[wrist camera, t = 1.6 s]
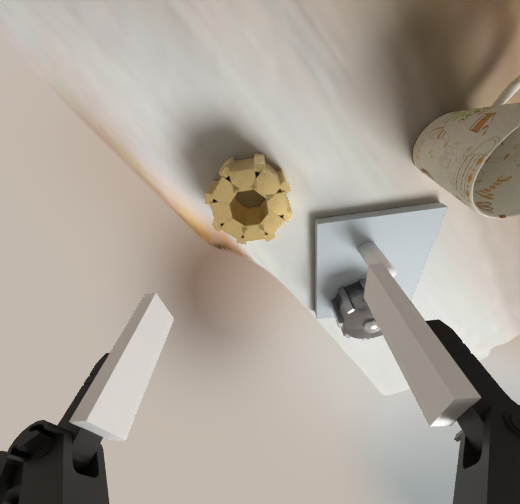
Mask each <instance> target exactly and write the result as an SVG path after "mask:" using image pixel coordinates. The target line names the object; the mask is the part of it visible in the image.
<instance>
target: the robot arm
mask: <svg viewBox="0 0 520 504" xmlns="http://www.w3.org/2000/svg"><path fill="white" fill-rule="evenodd" d="M364 299H365V301H366V303H367V305H368V307H369V308H370V310H371V312H372V314H373V316H374V318H375V320H376V322H377V324H378V326H379V328H380V330H381V332H382V334H383V336H384V338H385V340H386V342H387V344H388V346H389V348H390V350H391V351H392V353H393V355H394V357H395V359H396V361H397V363H398V365H399V367H400V369H401V371H402V373H403V375H404V377H405V379H406V381H407V383H408V385H409V387H410V389H411V390H412V392H413V394H414V396H415V398H416V400H417V402H418V404H419V406H420V408H421V410H422V412H423V414H424V416H425V418H426V420H427V422H428V423H429V425H430V426H448V425H449V426H450V425H452V424H453V423H454V422H455V421H456V420H457V422H458V423H459V425H460V426H461V428H462V430H461V431H460V432H459V433H458V434H457V435H456V437H455V439H454V440H456V441H457V442H458V441H460V450H459V458H458V465H457V474H456V482H455V490H454V499H453V504H520V405H518V404H516V403H515V402H514V401H513V400H511V399H510V398H509V396H508V395H507V394H506V393H505V392H504V391H503V390H502V389H501V388H500V387H499V385H498V384H497V383H496V381H495V380H494V379H493V378H492V377H491V375H490V374H489V373H488V372H487V371H486V369H485V368H484V367H483V366H482V364H481V363H480V362H479V361H478V360H477V358H476V357H475V356H474V355H473V354H471V352H470V350H469V349H468V347H467V346H466V345H465V344H463V343H462V340H461V339H460V338H459V337H458V335H457V334H456V333H455V332H454V331H453V329H451V328H450V327H449V326H447V325H446V324H445V323H443V322H442V321H440V320H430V321H425V320H424V319H423V317H422V316H421V315H420V313H419V312H418V310H417V309H416V308H415V306H414V305H413V304H412V302H411V301H410V300H409V298H408V297H407V295H406V294H405V293H404V291H403V290H402V289H401V287H400V286H399V285H398V283H397V282H396V280H395V279H394V278H393V276H392V275H391V274H390V272H389V271H388V270H387V268H386V267H385V265H384V264H383V263H378V264H370V265H368V272H367V278H366V285H365V291H364ZM173 320H174V318H173V317H172V316H171V314H170V313H169V311H168V310H167V308H166V307H165V305H164V304H163V303H162V301H161V300H160V298H159V297H158V295H157V294H156V293H152V294H145V295H144V297H143V298H142V300H141V302H140V303H139V305H138V307H137V309H136V310H135V312H134V314H133V315H132V317H131V319H130V320H129V322H128V324H127V325H126V327H125V329H124V330H123V332H122V334H121V335H120V337H119V339H118V340H117V342H116V344H115V345H114V347H113V349H112V350H111V352H110V353H106V354H105V355H104V356H103V357H102V358H101V359H100V360H99V362H97V363H96V365H95V366H94V368H93V370H92V371H91V373H90V376H89V377H88V378H87V379H86V381H85V383H84V386H82V387H81V389H80V391H79V392H78V394H77V396H76V397H75V399H74V400H73V402H72V403H71V405H70V407H69V408H68V410H67V411H66V413H65V415H64V416H63V418H62V419H61V421H60V422H59V424H58V425H54V424H52V423H49V422H47V421H45V420H41V421H37V422H35V423H33V424H32V425H30V426H29V427H27V428H26V429H25V430H24V431H23V432H22V433H21V434H20V435H19V436H18V437H17V438H16V439H15V440H14V442H13V443H12V445H11V447H10V448H9V450H8V452H4V451H0V504H109V497H108V488H107V480H106V471H105V462H104V453H103V447H102V445H101V444H100V443H101V440H102V438H105V439H108V440H110V441H123V440H126V438H127V435H128V433H129V431H130V428H131V426H132V423H133V421H134V418H135V416H136V413H137V411H138V408H139V406H140V403H141V400H142V398H143V395H144V393H145V390H146V388H147V385H148V383H149V380H150V378H151V375H152V373H153V370H154V368H155V365H156V363H157V360H158V358H159V355H160V353H161V350H162V348H163V345H164V343H165V340H166V338H167V335H168V333H169V330H170V328H171V325H172V322H173Z"/></svg>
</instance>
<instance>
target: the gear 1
mask: <svg viewBox="0 0 520 504" xmlns="http://www.w3.org/2000/svg"><path fill="white" fill-rule="evenodd" d="M218 173H219V174H220V176H221V178H220V180H219V181H217V180H213V182H212V184H211V186H210V187H209V189H208V191H207V192H206V197H205V203H207V204H210V206H211V209H212V212H213V216H214V220H213V223H212V225H213V226H214V228H215V229H216V230H217V231H220V230H222V231H224V232H226V233H227V234H229V235H231V236H233V237H234V238H236V239H237V243H241V244H246V241H252V240H260V239H265V240H266V241H269V240H271V239H273V238H275V235H274V232H275V231H276V230H277V229H278V228H279V227H280V226H281V224H282V223H283V222H284V221H287V222H289V220H290V218H291V215H292V211H291V207H290V204H289V200H288V197H286V194H285V193H287V192H288V191H290V187H289V184H288V181H287V178H286V176H285V174H284V172H283V170H282V169H281V170H279V171H276V170H275V169H274V168H273V167H271V166H270V165H269V164H267V163H266V162H265V157H264V155H263V154H259V153H255V154H254V158H248V159H242V160H236V161H235V159H234V158H233V156H232V157H231V158H229V159H228V160H226V161H225V162H224V164H223V165H222V167H221V169H220V170H219V172H218ZM248 190H255V191H256V192H257V193H259V194H260V195H262V196H263V197H264V198H266V199H265V200H264V201H263V203H262V204H261V205H260V206H258V207H251V208H247V207H245V206H244V205H242V204H241V203H239V202H238V201H237V199H236V194H237V192H242V191H248Z"/></svg>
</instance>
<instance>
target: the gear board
mask: <svg viewBox="0 0 520 504" xmlns="http://www.w3.org/2000/svg"><path fill="white" fill-rule="evenodd" d="M447 208H448V207H447V206H445V205H444V204H442V203H440V202H437V203H429V204H422V205H415V206H407V207H400V208H393V209H385V210H378V211H370V212H363V213H356V214H348V215H341V216H334V217H326V218H319V219H315V313H316V317H317V319H318V318H329V317H335V316H334V313H333V310H332V307H331V300H335V297H336V295H337V294H338V289H339V288H340V287H342V286H344V287H346V286H348V285H350V284H353V283H356V282H359V280H360V279H366V278H367V272H368V265H370V264H378V263H383V264H384V265H385V267H386V268H387V270H388V271H389V272H390V274H391V275H392V276H393V278H394V279H395V280H396V282H397V283H398V285H399V286H400V287H401V289H402V290H403V291H404V293H405V294H406V295H407V297H408V298H409V300H410V301H411V300H412V297H413V294H414V292H415V289H416V287H417V284H418V282H419V279H420V277H421V274H422V271H423V269H424V266H425V264H426V261H427V259H428V256H429V254H430V251H431V249H432V246H433V243H434V241H435V238H436V236H437V233H438V231H439V228H440V226H441V223H442V221H443V218H444V215H445V213H446V210H447Z"/></svg>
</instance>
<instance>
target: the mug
mask: <svg viewBox="0 0 520 504" xmlns="http://www.w3.org/2000/svg"><path fill="white" fill-rule="evenodd" d="M519 88H520V76H519V77H517V78H516V79H515V80H514V81H513V82H511V83H510V84H509V85H508V86H507V88H506V89H505V90H504V91H503V92H502V93H501V95H500V96H499V97H498V98H497V100H496V101H495V102H494V103H493V105H492V106H491V107H485V108H477V109H470V110H462V111H455V112H450V113H447V114H444V115H442V116H440V117H438V118H437V119H435V120H434V121H432V122H431V123H430V124H429V125H428V126H427V127H426V128H425V129H424V130H423V131H422V133H421V134H420V135H419V137H418V139H417V141H416V143H415V145H414V149H413V161H414V164H415V166H416V167H417V168H418V169H419V170H420V171H422V172H423V173H424V174H426V175H427V176H428V177H429V178H431V179H432V180H433V181H435V182H436V183H437V184H439V185H440V186H441V187H443V188H444V189H445V190H447V191H448V192H449V193H451V194H452V195H453V196H455V197H456V198H457V199H459V200H460V201H461V202H463V203H464V204H465V205H467V206H468V207H469V208H471V209H472V210H474V211H475V212H477V213H479V214H481V215H483V216H486V217H491V218H508V217H514V216H518V215H520V103H515V104H507V105H504V104H505V103H506V102H507V101H508V100H509V99H510V98H511V97H512V95H513V94H514V93H515V92H516V91H517V90H518V89H519Z"/></svg>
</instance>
